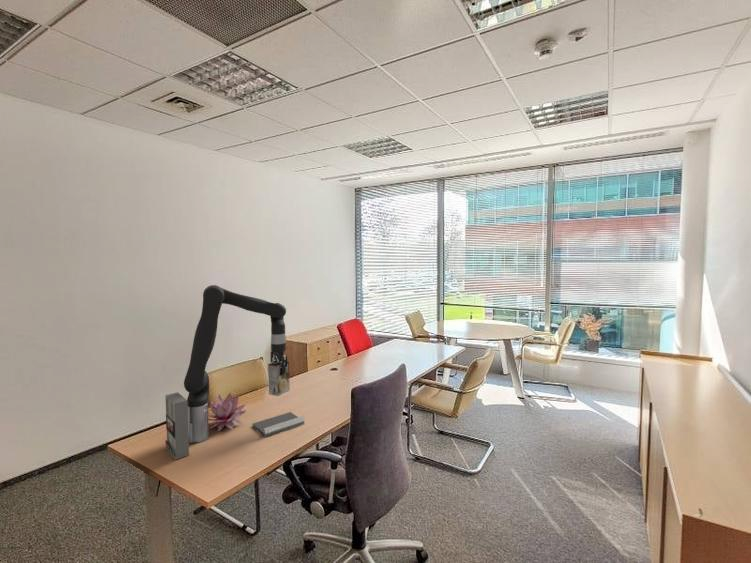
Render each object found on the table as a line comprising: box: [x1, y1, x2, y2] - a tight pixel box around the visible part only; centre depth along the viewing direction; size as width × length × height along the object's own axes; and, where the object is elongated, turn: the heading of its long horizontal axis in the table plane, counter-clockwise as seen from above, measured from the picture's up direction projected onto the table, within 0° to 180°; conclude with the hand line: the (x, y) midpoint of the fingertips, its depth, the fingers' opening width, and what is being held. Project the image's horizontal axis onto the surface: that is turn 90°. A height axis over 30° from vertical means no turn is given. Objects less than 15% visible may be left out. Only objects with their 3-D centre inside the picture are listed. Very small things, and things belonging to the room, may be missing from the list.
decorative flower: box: [208, 392, 247, 432], centre depth 190 cm, size 21×21×15 cm
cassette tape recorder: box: [164, 392, 190, 461], centre depth 164 cm, size 14×6×25 cm, turn 44°
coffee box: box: [267, 360, 291, 397], centre depth 190 cm, size 9×6×16 cm
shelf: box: [252, 411, 305, 438], centre depth 192 cm, size 22×15×4 cm
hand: (278, 372), depth 190 cm, fingers closed on coffee box, 7 cm apart
